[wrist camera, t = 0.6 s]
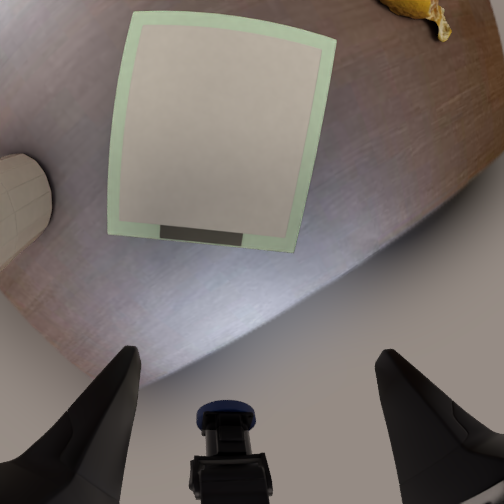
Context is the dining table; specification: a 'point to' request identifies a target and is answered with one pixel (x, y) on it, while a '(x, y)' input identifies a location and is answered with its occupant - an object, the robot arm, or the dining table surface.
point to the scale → (216, 129)
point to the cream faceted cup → (21, 205)
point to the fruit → (421, 13)
